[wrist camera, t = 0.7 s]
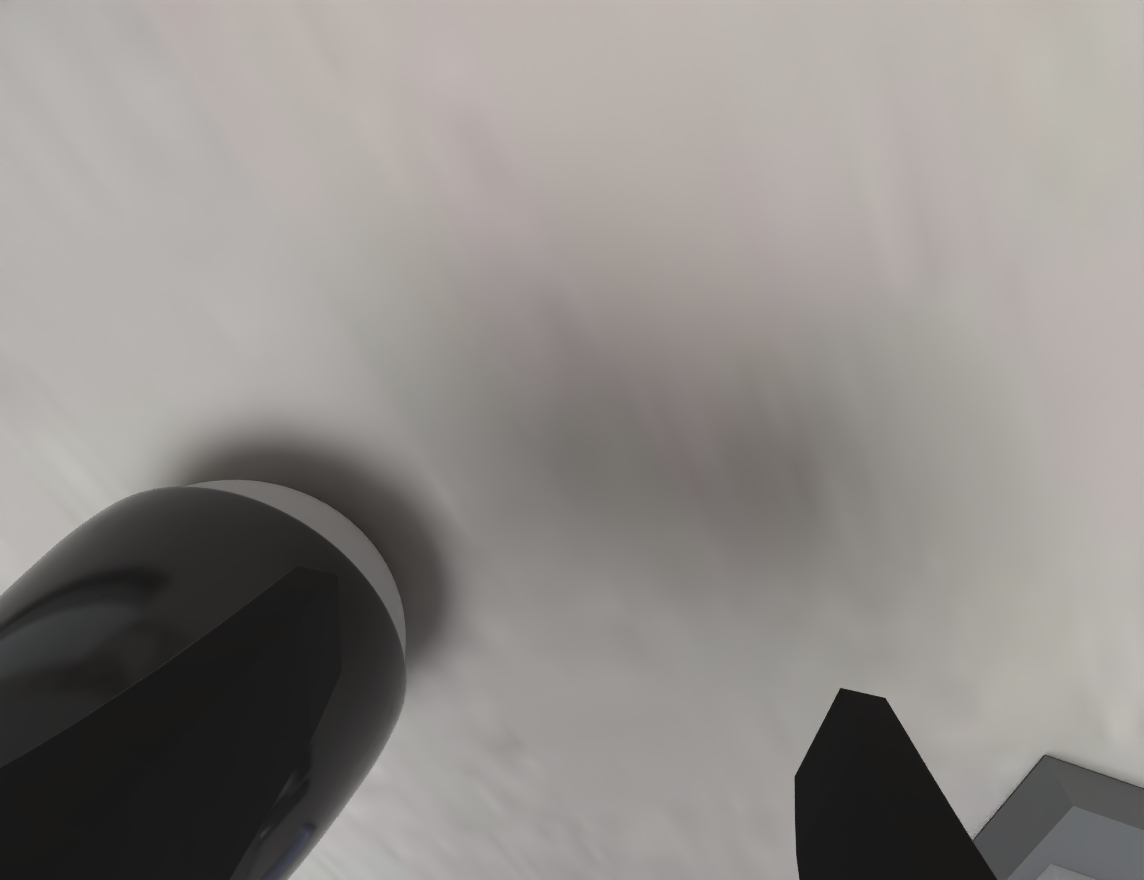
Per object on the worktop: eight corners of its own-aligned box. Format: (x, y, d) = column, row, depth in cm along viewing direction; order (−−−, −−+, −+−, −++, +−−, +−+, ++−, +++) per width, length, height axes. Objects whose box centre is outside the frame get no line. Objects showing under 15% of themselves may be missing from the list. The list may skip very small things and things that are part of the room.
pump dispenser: (98, 549, 25) (-655, 1084, 11) (271, 365, 21) (-565, 837, 7) (316, 738, 27) (-86, 1389, 13) (511, 603, 23) (232, 1330, 9)
